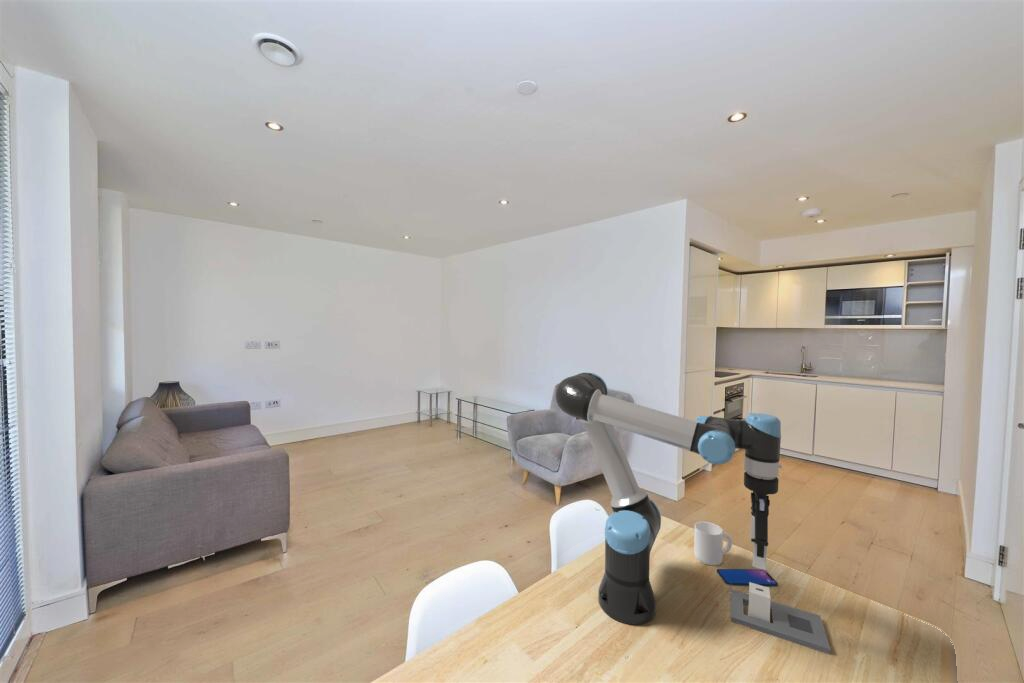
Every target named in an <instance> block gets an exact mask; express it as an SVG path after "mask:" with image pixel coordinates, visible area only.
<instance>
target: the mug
mask: <svg viewBox="0 0 1024 683" xmlns="http://www.w3.org/2000/svg"><path fill="white" fill-rule="evenodd" d="M724 538H726V540H727V543H726V547H724ZM732 540H733V539H732V536H731V535H730V534H729V533H728V532H726V531H724V530H723V528H722V527H721V526H719V525H717V524H716V523H713V522H709V521H698V522H696V523H694V541H693V545H694V546H693V553H694V558H696V560H698V562H700V563H702V564H705V565H707V566H712V567H713V566H718V565H720V564H721V563H723V558H724V557H723V555H725V554H727V553H729V552H730V550H732V547H733V541H732ZM721 565H722V564H721Z"/></svg>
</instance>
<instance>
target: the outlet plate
mask: <svg viewBox="0 0 1024 683" xmlns="http://www.w3.org/2000/svg"><path fill="white" fill-rule="evenodd" d="M730 590H731V591H730V592H731V593H730V597H731V598H730V601H731V602H730V620H731V621H730V622H731V623H732V622H733V623H735V624H737V625H740V626H744V627H747V628H750V629H752V630H756V631H758V632H762V633H765V634H768V635H769V636H770V635H771V636H773V637H777V638H779V639H783V640H786V641H789V642H792V643H795V644H797V645H801V646H804V647H807V648H810V649H814V650H816V651H819V652H822V653H824V654H828V655H831V646H830V643H829V641H828V636H827V634H826V630H825V627H824V624H823V621H822V617H821V615H819V614H818V613H817V614H816V613H814V612H810V611H806V610H803V609H800V608H796V607H792V606H789V605H786V604H783V603H779V602H776V601H772V600H770V616H771V620H772V622H767V621H764V620H761V619H758V618H754V617H751V616H749V614H748V615H747V614H744V604H746V605H748V606H749V593H745V592H742V591H738V590H736V589H732V588H731V589H730Z"/></svg>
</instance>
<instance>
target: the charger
mask: <svg viewBox="0 0 1024 683" xmlns="http://www.w3.org/2000/svg"><path fill="white" fill-rule="evenodd" d="M770 592H771V591H770V587H769V586H761V585H758V584H754V583H751V582H749V586H748V594H749V605H748V616H751V617H754V618H758V619H761V620H764V621H767V622H770V621H771V620H770V619H771V611H770V601H771V593H770ZM770 623H771V622H770Z"/></svg>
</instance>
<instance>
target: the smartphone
mask: <svg viewBox="0 0 1024 683" xmlns="http://www.w3.org/2000/svg"><path fill="white" fill-rule="evenodd" d="M716 573H717V574H718V575H719V577H721V579H722V581H723V582H724V583H725V584H726V585H728V586H739V587H740V586H744V587H747V586H748V587H749V582H751V583H754V584H758V585H761V586H765V587H768V588H770V587H772V588H773V587H776V588H777V587H779V586H778V585H779V584H778V583H779V582H777V581H776V580H775V578H774V577H772V575H771V574H769V572H768V571H766V570H763V569H759V568H756V569H753V568H749V569H748V568H744V569H743V568H740V569H739V568H738V569H737V568H717V569H716Z"/></svg>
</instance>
